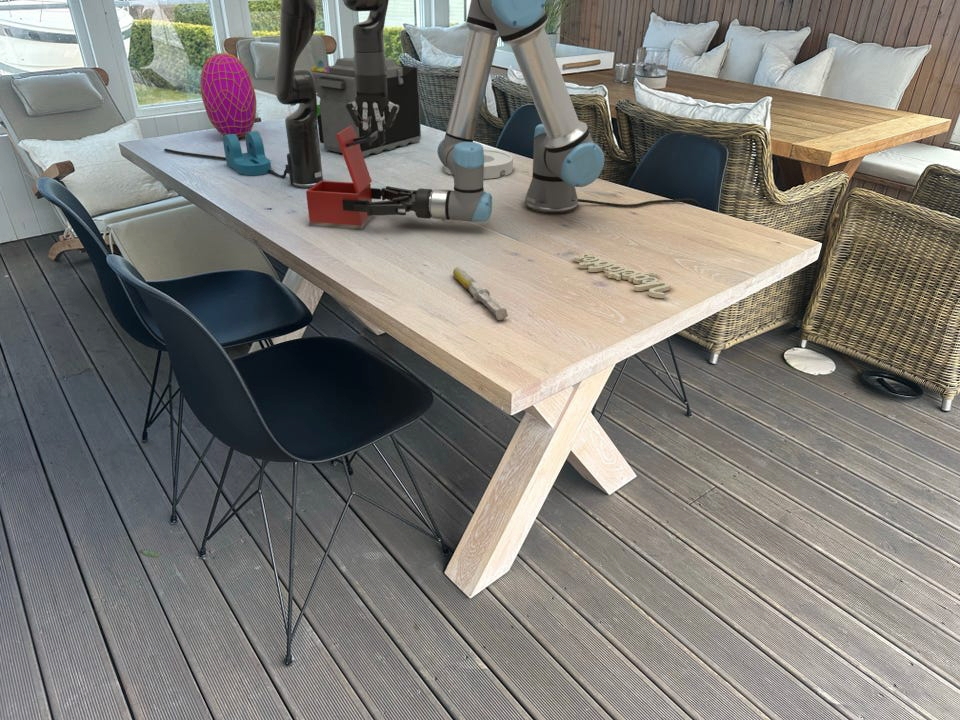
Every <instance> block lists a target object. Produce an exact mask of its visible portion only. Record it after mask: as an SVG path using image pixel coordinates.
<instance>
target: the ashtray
mask: <svg viewBox="0 0 960 720" xmlns="http://www.w3.org/2000/svg"><path fill="white" fill-rule="evenodd" d="M483 150H484V178H483V180H488V179H489V180H490V179H497V178H498V179H499V178H500V177H501V176H505V177H506V176H508V175H510V174H511V173H512V172H513V171H514V170H513V168H514V157H513V156H512V155H511V154H510V153H508V152H505V151H500V150H496V149H489V148H488V149H487V148H486V149H485V148H483ZM443 171H444V173H446V174H448V175H453V176H454V174H453V173H452V172H451V171H450V170H449V169H448V168H447V167H445V166H444V165H443Z"/></svg>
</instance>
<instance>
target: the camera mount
mask: <svg viewBox="0 0 960 720" xmlns="http://www.w3.org/2000/svg"><path fill="white" fill-rule="evenodd" d="M244 137H245V146H246V152H243V151H242V150H243V149H242V146H241V142H240V140H239V138H237V136H236V135H235V134H230V135H224V136H223V138H222V140H223V141H222V143H223V149H224V150H223V151H224V157H226V160H225V162H226V165H227V166H228V167H230V168H231V169H232V170H234V171H236V172H237V173H238V174H239V175H244V176H260V175H265V174H268V173H270V172H268V170H269V169H270V170H272V164H271V159H270V158H268V157H267V156H266V153H265V145H264V141H263V139H262V136H261V134H260V132H258V131H250V132H247V133H246V136H244Z"/></svg>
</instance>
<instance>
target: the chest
mask: <svg viewBox="0 0 960 720" xmlns="http://www.w3.org/2000/svg"><path fill="white" fill-rule="evenodd" d="M371 185H372V184H371V183H370V184H369V185H367V186H366V187H365V188H364V189H363V190H362V191H361V192H360V193H356V190H355V187H354V185H353V182H352V181H351V182H349V181H335V180H323V181H319V182H318V183H317V184H315V185H314V186H313V187H311V188H307V190H306V191H305V195H306V203H307V212H308V213H307V214H308V220H309V226H310V227H322V228H335V229H350V230H362V229H363V228H364V227H365V226H366V225H367V224H368V223H369V222H370V221H371V220H372V219H373V218H374V215H372V216H368V215H367V212H360V211H346V210H343V201H342V200H343V199H347V200H362V201H366V200H369V202H373V199H372V197H371V188H372V186H371ZM371 210H372V208H371Z"/></svg>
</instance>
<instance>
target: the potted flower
mask: <svg viewBox="0 0 960 720" xmlns="http://www.w3.org/2000/svg"><path fill="white" fill-rule="evenodd" d="M331 66H332V65H325V64H324V61H323V60H322V59H319V60H317V62H316V66H315V65H314V66H312V67H311V70H310V72H313V71H321V72H328V73H329V67H331ZM316 96H317V98H319V96H318V94H317V93H316ZM317 113H318V116H319V115H321V111H320V104H317Z"/></svg>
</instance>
